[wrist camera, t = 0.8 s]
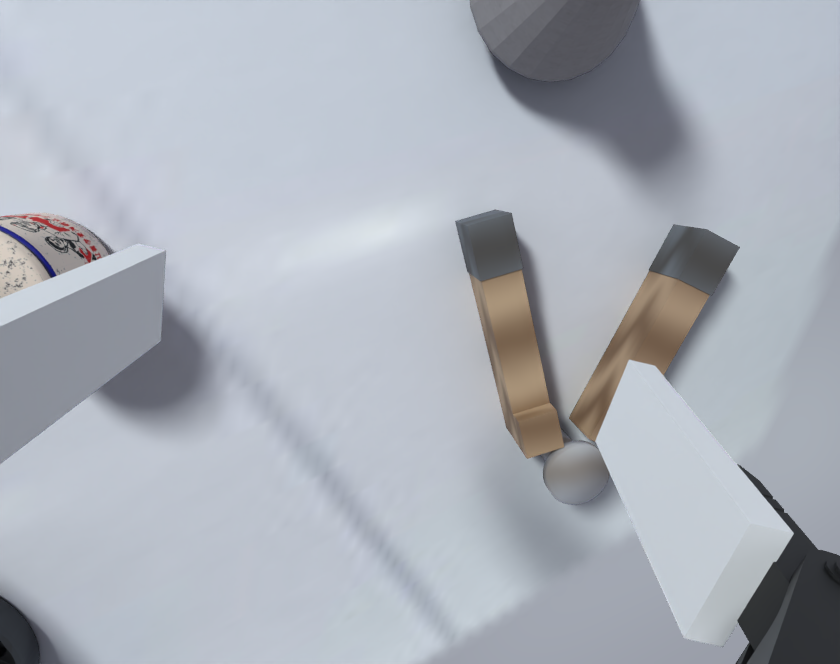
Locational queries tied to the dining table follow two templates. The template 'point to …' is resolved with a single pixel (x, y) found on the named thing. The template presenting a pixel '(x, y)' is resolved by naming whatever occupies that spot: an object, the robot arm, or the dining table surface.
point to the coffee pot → (552, 34)
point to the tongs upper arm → (523, 359)
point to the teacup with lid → (42, 249)
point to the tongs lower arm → (656, 317)
